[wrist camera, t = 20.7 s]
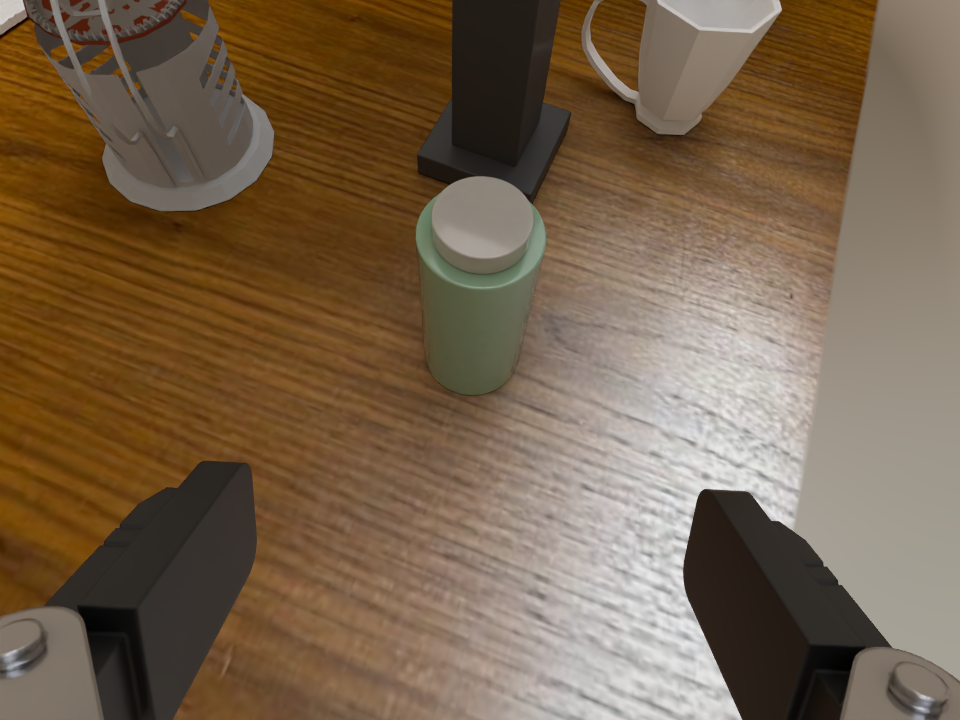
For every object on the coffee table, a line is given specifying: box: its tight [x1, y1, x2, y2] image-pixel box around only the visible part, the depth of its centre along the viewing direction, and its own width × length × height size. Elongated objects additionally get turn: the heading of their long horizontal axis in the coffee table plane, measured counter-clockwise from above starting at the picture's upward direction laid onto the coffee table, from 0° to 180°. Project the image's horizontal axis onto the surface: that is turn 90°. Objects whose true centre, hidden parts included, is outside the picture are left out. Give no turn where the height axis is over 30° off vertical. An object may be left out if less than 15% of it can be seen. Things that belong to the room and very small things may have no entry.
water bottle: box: [415, 176, 547, 395], centre depth 26 cm, size 5×5×11 cm
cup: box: [581, 0, 782, 135], centre depth 36 cm, size 7×10×8 cm
